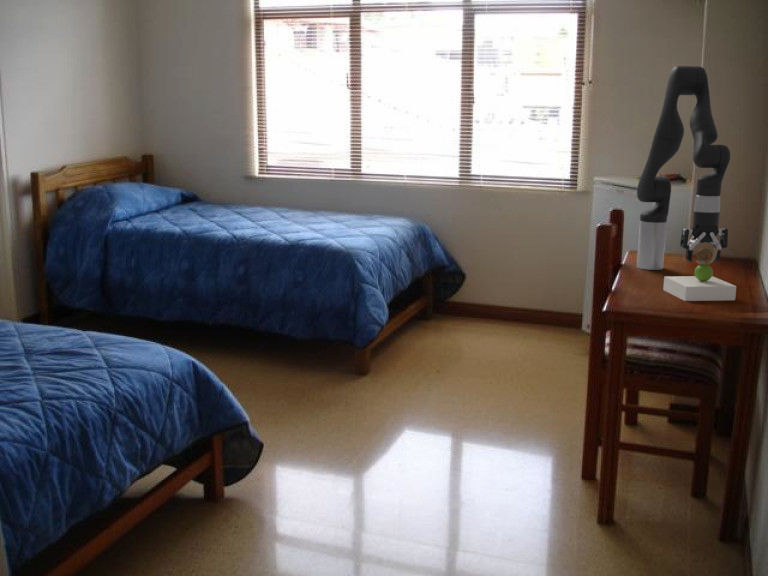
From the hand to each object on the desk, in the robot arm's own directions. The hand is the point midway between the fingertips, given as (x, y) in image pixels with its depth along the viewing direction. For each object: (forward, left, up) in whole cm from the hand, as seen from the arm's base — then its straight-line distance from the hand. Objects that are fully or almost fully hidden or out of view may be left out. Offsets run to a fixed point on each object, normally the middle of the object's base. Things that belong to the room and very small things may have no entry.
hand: (702, 261), depth 256 cm
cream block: (0, 0, -11) cm, 11 cm away
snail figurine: (0, +1, -6) cm, 7 cm away
